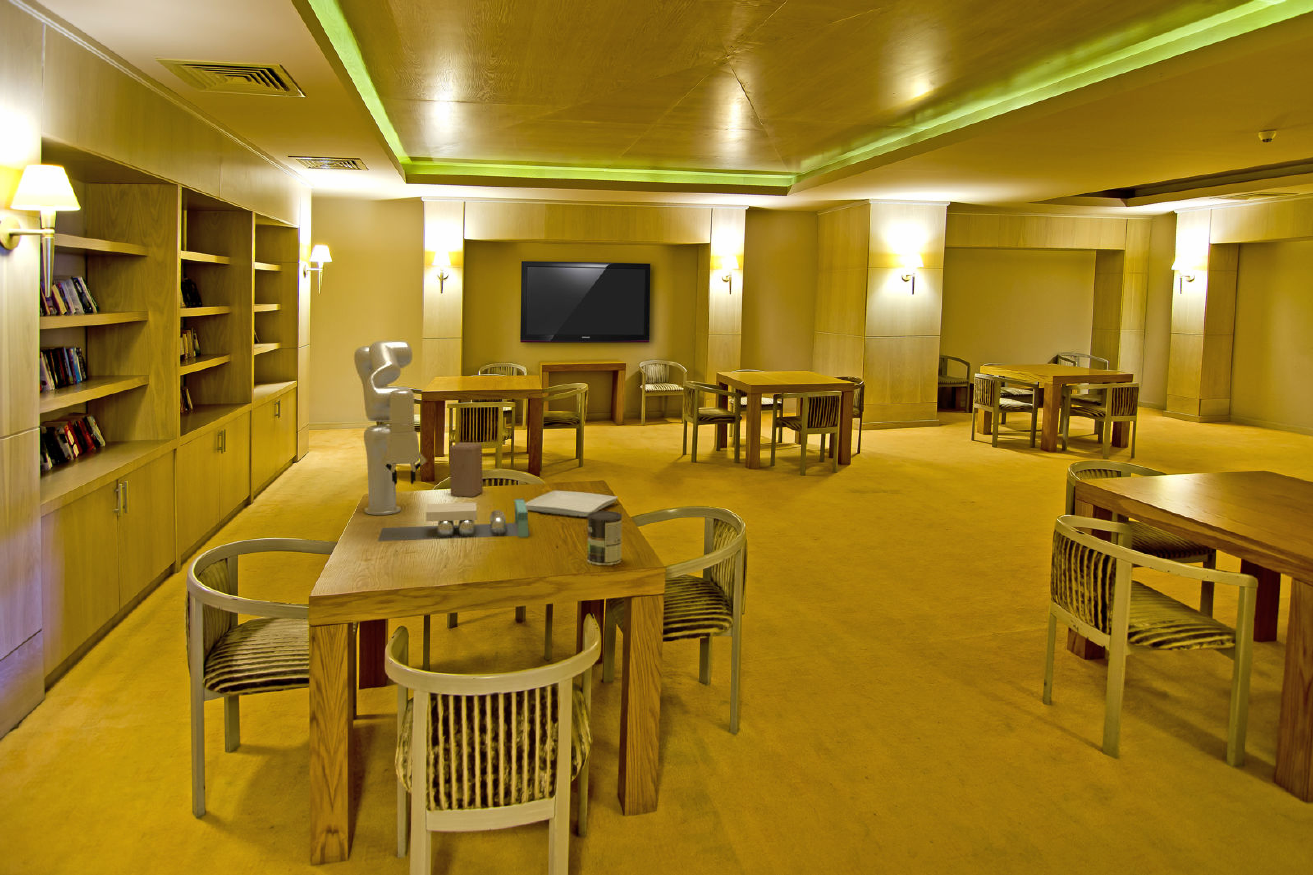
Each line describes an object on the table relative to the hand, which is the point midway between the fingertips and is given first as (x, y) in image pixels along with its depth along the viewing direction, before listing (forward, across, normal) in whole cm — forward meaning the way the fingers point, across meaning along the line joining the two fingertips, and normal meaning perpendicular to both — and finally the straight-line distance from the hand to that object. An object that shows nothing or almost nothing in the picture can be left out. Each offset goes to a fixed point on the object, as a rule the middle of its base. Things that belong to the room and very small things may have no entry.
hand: (404, 482), depth 301 cm
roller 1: (+15, +11, 0) cm, 19 cm away
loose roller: (+17, +30, 0) cm, 34 cm away
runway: (+17, +16, 0) cm, 24 cm away
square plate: (+18, +58, +30) cm, 68 cm away
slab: (+12, +15, 0) cm, 19 cm away
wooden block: (+18, +20, +60) cm, 66 cm away
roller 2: (+17, +20, 0) cm, 26 cm away
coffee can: (+18, +60, -40) cm, 74 cm away
